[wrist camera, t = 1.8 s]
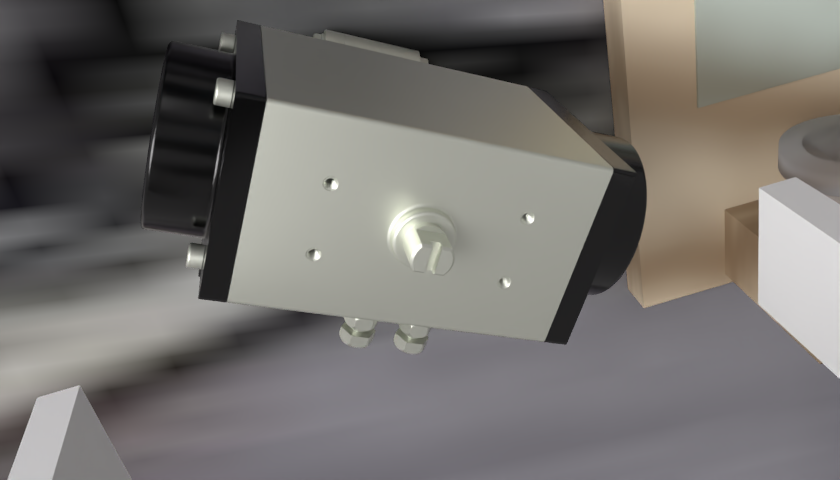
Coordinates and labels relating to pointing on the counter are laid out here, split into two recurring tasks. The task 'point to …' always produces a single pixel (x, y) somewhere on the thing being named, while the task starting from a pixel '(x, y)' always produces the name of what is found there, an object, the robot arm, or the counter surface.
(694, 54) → the pipe stand
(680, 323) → the counter surface
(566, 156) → the pneumatic valve
